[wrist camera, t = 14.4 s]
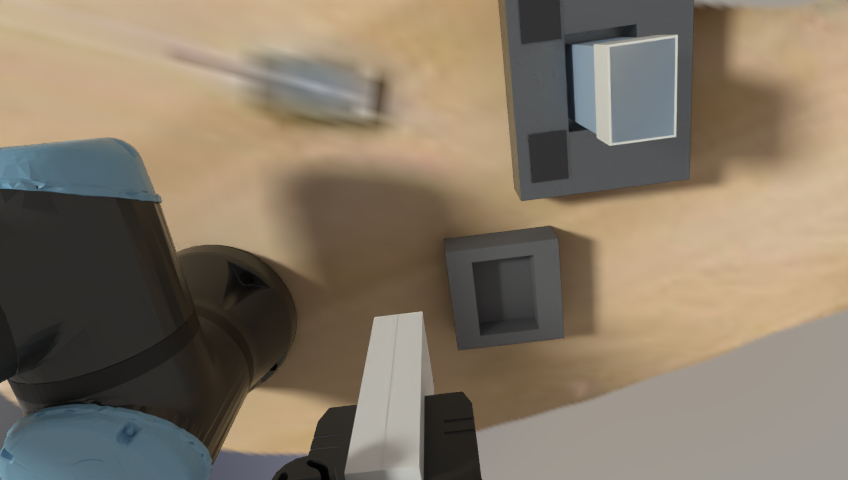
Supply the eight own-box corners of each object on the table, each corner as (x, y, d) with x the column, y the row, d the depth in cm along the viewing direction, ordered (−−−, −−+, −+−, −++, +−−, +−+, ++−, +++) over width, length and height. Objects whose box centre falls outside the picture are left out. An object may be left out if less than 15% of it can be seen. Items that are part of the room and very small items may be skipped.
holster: (456, 331, 56) (458, 350, 53) (443, 239, 53) (444, 252, 49) (556, 320, 56) (564, 338, 52) (550, 225, 52) (558, 238, 49)
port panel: (514, 188, 51) (522, 203, 47) (496, -27, 45) (503, -34, 41) (669, 168, 50) (692, 180, 46) (672, -54, 44) (699, -64, 40)
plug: (566, 119, 48) (609, 145, 37) (563, 42, 46) (607, 44, 34) (617, 112, 48) (676, 136, 36) (616, 34, 45) (677, 34, 34)
